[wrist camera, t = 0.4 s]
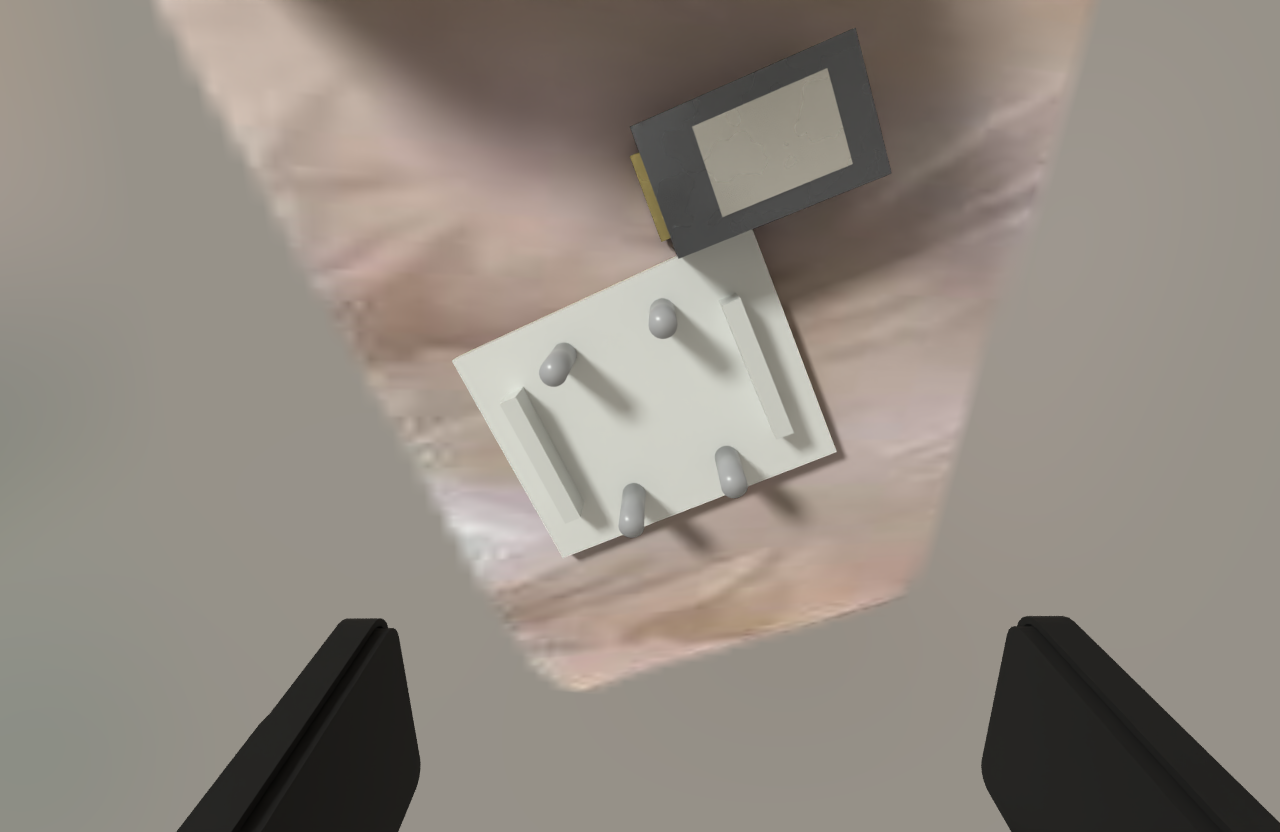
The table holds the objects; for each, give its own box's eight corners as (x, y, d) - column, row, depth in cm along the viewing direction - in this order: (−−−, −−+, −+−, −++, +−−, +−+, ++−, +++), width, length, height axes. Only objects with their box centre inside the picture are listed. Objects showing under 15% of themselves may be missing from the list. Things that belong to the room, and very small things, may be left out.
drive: (821, 57, 30) (856, 26, 25) (853, 178, 32) (892, 173, 27) (625, 143, 32) (619, 131, 27) (666, 254, 34) (668, 263, 28)
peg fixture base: (747, 223, 33) (762, 225, 28) (832, 445, 37) (857, 480, 32) (457, 356, 36) (426, 379, 31) (565, 549, 40) (552, 596, 35)
